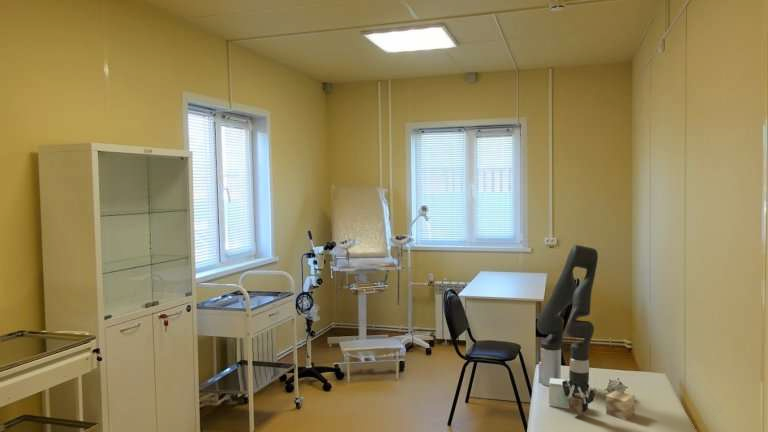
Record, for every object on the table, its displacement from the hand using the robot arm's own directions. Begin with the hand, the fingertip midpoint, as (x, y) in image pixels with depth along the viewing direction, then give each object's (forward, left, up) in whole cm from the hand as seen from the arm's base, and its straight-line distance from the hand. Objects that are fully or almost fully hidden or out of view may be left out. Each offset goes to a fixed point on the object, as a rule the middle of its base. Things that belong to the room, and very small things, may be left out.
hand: (578, 409), depth 227 cm
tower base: (+11, +14, -3) cm, 18 cm away
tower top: (+11, +14, +1) cm, 18 cm away
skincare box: (-10, +5, -3) cm, 12 cm away
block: (0, 0, -1) cm, 1 cm away
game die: (+2, +30, -3) cm, 30 cm away
